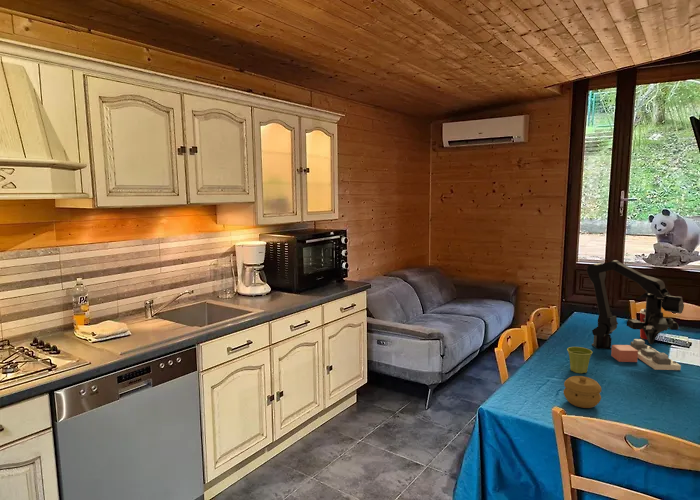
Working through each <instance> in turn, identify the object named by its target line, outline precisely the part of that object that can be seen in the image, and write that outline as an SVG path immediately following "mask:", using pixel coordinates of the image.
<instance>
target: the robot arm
mask: <svg viewBox="0 0 700 500" xmlns="http://www.w3.org/2000/svg"><path fill="white" fill-rule="evenodd" d="M609 271H614V272H616V273H618V274H620V275H622V276H624V277H625V278H627V279H629V280H631V281H633V282H635V283H637V284H638V285H639V286H640V287H641V288H642V289H643V290H644V291H645V292H644V293H643V294H641V295H640V297H641V298H646V299H645V308H643V309H644V312H645V318H643V321H645V322H640V320H638V319H628V320H627V321H626V327H629V328H630V329H632V330H640V329H643V330H644V332H645V334H646V337H647V339H648V340H647V342H648V343H649V345H653V344H654V342H655V340H656V339H657V336H658V335H659V334H660V333H661V332H664V331H668V329H670V330H671V331H672V330H673V331H674V330H675V331H679V324H678V322H676V321H674V319H673V318H671V317H669V318H665V317H664V312H663V311H662V310H664V311H665V312H669V313H675V314H682V313H683V312H684V310H685V309H684V308H685V307H684V306H685V304H684V300H683V297H682V296H674V295H671V293H670V292H669V290H668V289H667V288H666V284H665V282H664V280H662V279H660V278H656V277H653V276H650V275H647V274H643V273H642V272H639V271H638V270H636V269H634V268H632V267H630V266H628V265H626V264H624V263H622V262H620V261H619V260H617V259H614V260H611V261H609V262H604V263H601V262H596V263H592V264H589V265H588V266H587V268H586V273H587V277H588V278H589V280H590V281H591V283H592V285H593V290H594V293H595V300H596V305H597V309H598V318H597V326H596V327H595V328H594V329H592V330H591V333H592V335H593V343H591V346H593V347H594V348H596V349H597V350H612V340H613V339H612V337H611V335H612V333H613V332H614V331H615V330H616V329H618V325H619V322H618V320H617V319H618V318H617V315H613V314H612V312H611V308H610V304H609V299H608V298H609V297H608V295H607V294H608V293H607V289H606V283H605V280H606V276H607V273H606V272H609ZM648 324H649V325H648Z"/></svg>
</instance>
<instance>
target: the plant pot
mask: <svg viewBox="0 0 700 500" xmlns="http://www.w3.org/2000/svg"><path fill="white" fill-rule="evenodd" d="M566 350H567V352H568V357H569V365H570V366H569V367H570V371H571V372H573V373H576V374H584V373H585V374H587V372H588V370H589V369H588V368H589V363H590V359H591V356H592V354H593V351H592V350H591V349H589V348H586V347H583V346H582V347H581V346H570V347H567V349H566Z"/></svg>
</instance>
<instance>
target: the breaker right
mask: <svg viewBox="0 0 700 500" xmlns="http://www.w3.org/2000/svg"><path fill="white" fill-rule="evenodd" d="M655 357H657V358H658V359H668V358H669V355H668V354H666V353H665V352H660V353H656V356H655Z"/></svg>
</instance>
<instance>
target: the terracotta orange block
mask: <svg viewBox="0 0 700 500" xmlns="http://www.w3.org/2000/svg"><path fill="white" fill-rule="evenodd" d="M630 345H631V344H611V348H612V349H611V355H610V356H611V357H612V358H614V359H615V360H616V361H617V362H620V363H621V362H622V363H638V359H639V358H638V350H636V349H635V348H633V347H632V346H630Z"/></svg>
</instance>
